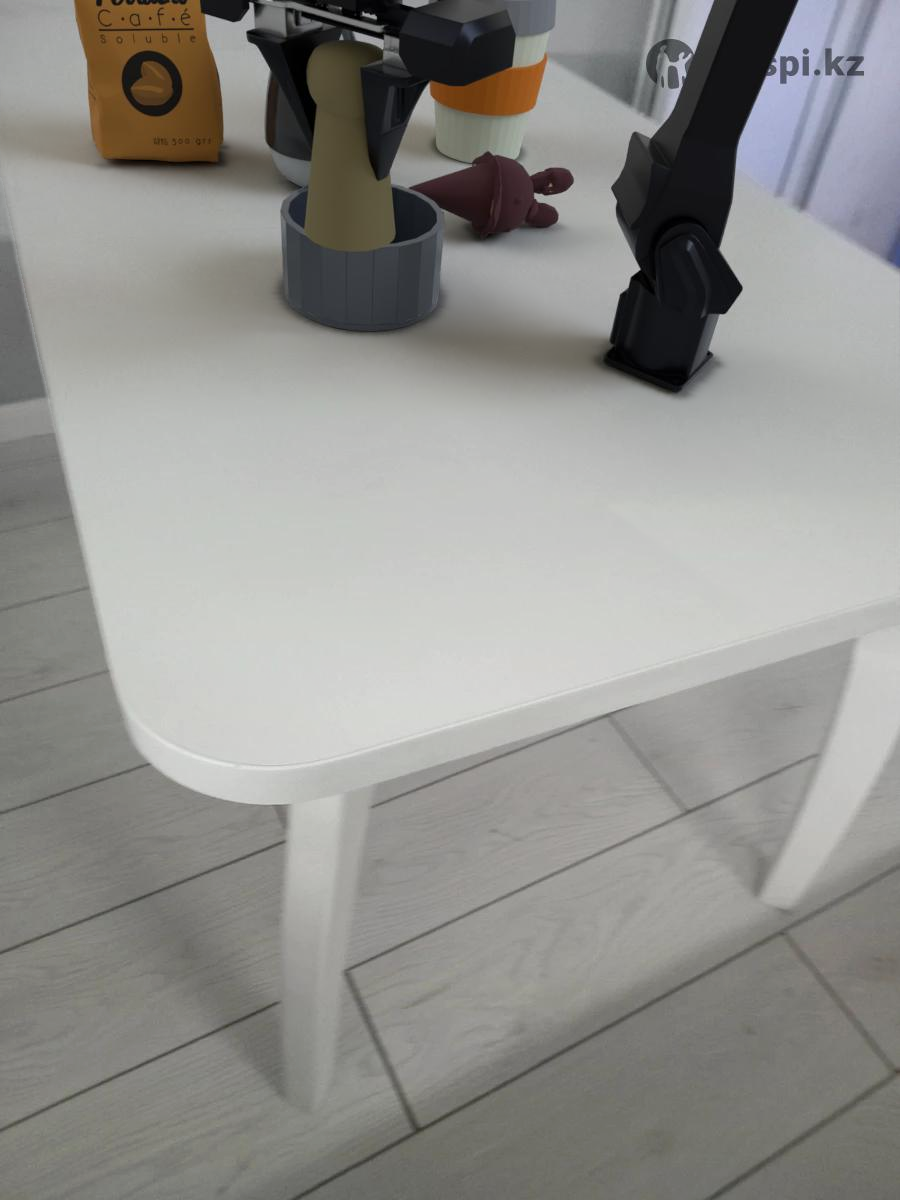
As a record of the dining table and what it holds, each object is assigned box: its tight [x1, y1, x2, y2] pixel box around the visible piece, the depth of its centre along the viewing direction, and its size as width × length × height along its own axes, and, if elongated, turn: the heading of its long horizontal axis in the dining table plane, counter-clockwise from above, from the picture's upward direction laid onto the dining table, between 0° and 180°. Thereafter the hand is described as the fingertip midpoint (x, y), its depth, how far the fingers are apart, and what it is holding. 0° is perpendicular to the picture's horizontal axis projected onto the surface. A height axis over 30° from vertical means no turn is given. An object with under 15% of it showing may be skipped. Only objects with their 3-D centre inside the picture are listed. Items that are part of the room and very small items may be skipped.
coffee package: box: [73, 0, 225, 163], centre depth 82 cm, size 10×12×22 cm
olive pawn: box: [304, 39, 396, 252], centre depth 57 cm, size 6×6×11 cm
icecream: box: [407, 151, 575, 239], centre depth 81 cm, size 7×7×15 cm
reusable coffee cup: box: [427, 0, 557, 164], centre depth 93 cm, size 13×13×15 cm
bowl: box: [279, 183, 445, 332], centre depth 71 cm, size 12×12×6 cm
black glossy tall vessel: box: [263, 4, 358, 188], centre depth 83 cm, size 10×10×15 cm
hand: (351, 168), depth 58 cm, fingers closed on olive pawn, 4 cm apart
